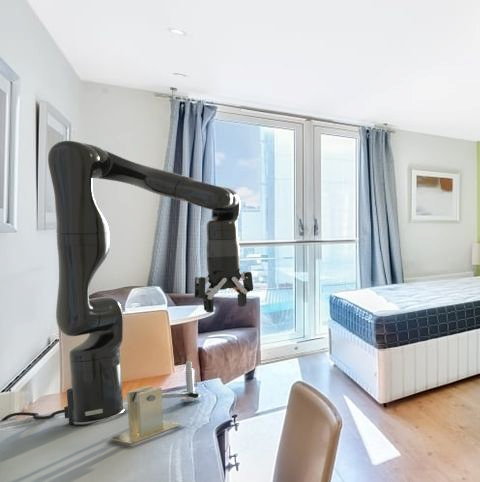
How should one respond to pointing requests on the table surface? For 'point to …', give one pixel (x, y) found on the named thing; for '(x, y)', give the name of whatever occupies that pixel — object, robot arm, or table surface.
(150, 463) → the table surface
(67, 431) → the table surface
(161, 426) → the bracket
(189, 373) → the screw
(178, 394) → the lever
